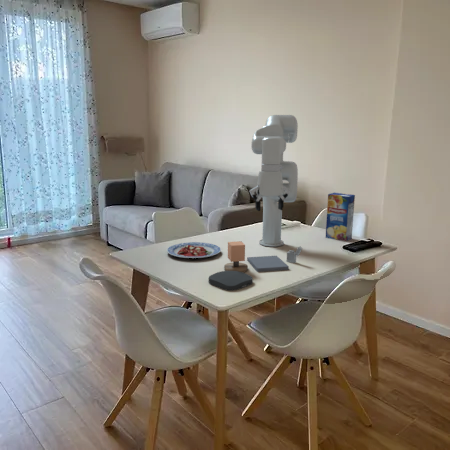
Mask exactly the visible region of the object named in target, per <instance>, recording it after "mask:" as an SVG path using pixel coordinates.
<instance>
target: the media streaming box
mask: <svg viewBox="0 0 450 450" xmlns="http://www.w3.org/2000/svg"><path fill="white" fill-rule="evenodd" d="M253 281H254V279H253V276H251V275H250V274H248V273H246V272H239V271H225V270H222V271H217V272H215V273H213V274H210V275H209V276H208V284H209V285H211V286H214V287H217V288H219V289H222V290H225V291H237V290H240V289H243V288H245V287H246V288H247V287H248V286H251V285H253Z"/></svg>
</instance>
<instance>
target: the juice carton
mask: <svg viewBox="0 0 450 450" xmlns="http://www.w3.org/2000/svg"><path fill="white" fill-rule="evenodd" d="M355 196H356V195H355V194H350V193H342V192H332V193H331V192H330V193H328V194H327V206H326V207H327V208H326V223H325V224H326V225H325V238H326V239H332V240H337V241H342V242H347V241H349V240H351V239H352V238H353V228H354V227H353V225H354V224H353V223H354V212H355V211H354V210H355V201H356V200H355V198H356V197H355Z"/></svg>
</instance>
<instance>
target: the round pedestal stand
mask: <svg viewBox="0 0 450 450" xmlns="http://www.w3.org/2000/svg"><path fill="white" fill-rule="evenodd" d="M223 268H224V270H223V271H239V272H243V273H246V272H248V270H249V266H248V264H246V263H243V262H240V261H236V262H228V263H225V264H224V267H223Z"/></svg>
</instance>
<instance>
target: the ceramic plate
mask: <svg viewBox="0 0 450 450" xmlns="http://www.w3.org/2000/svg"><path fill="white" fill-rule="evenodd" d="M221 250H222V249H221V247H220V246H218V245H216V244H213V243H208V242H197V241H190V242H181V243H177V244H173V245H171V246H168V247H167V248H166V252H167V253H168V254H169V255H170V256H174V257H177V258H183V259H189V258H192V259H193V260H195V259H196V258H198V259H204V258H208V257H209V258H210V257H213V256H215V255H216V256H217V255H218V254H220V252H221ZM194 258H195V259H194ZM192 259H191V260H192Z"/></svg>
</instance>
